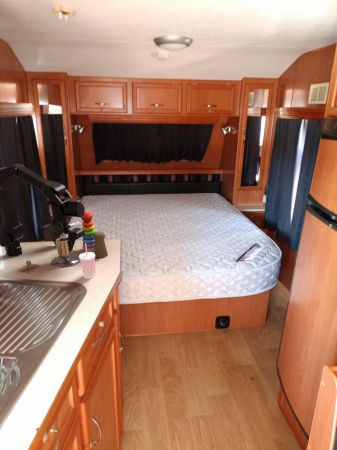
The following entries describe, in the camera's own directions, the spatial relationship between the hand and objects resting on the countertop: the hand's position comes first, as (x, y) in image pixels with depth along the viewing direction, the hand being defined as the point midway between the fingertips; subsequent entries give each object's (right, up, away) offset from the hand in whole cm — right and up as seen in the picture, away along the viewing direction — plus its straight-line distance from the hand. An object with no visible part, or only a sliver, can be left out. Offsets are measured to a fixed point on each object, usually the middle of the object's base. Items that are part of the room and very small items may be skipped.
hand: (64, 249), depth 138 cm
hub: (0, -6, +2) cm, 6 cm away
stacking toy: (+8, -1, +14) cm, 16 cm away
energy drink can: (-7, 0, +18) cm, 19 cm away
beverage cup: (+13, -10, -9) cm, 18 cm away
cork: (+14, -3, +8) cm, 16 cm away
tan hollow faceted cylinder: (0, -1, 0) cm, 1 cm away
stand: (-13, -8, -4) cm, 16 cm away
